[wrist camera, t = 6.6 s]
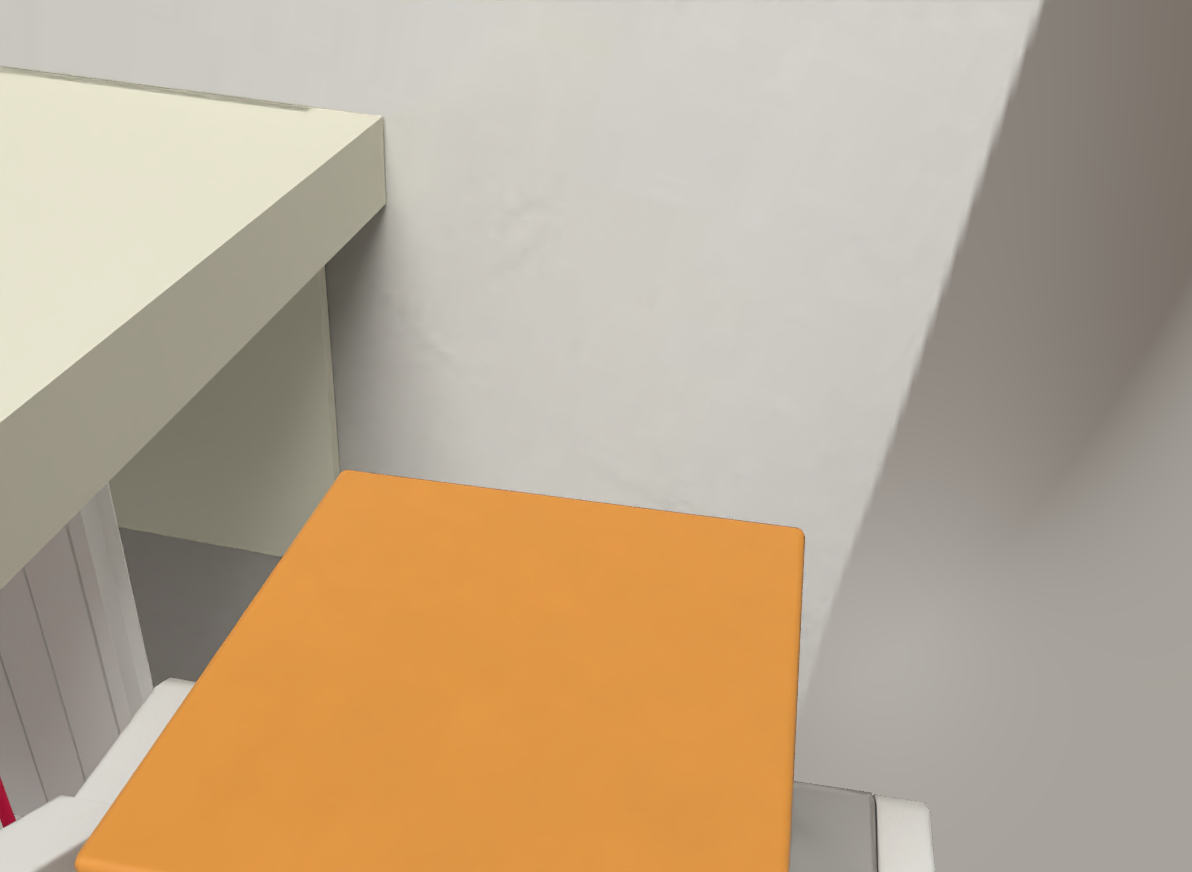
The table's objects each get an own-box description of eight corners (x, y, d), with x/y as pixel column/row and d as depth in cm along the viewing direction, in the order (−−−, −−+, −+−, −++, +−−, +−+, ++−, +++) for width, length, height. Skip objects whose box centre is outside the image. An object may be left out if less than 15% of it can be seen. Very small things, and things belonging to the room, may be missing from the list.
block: (341, 466, 12) (65, 862, 7) (806, 525, 11) (783, 1001, 7) (383, 771, 14) (199, 1185, 10) (757, 836, 14) (721, 1312, 9)
